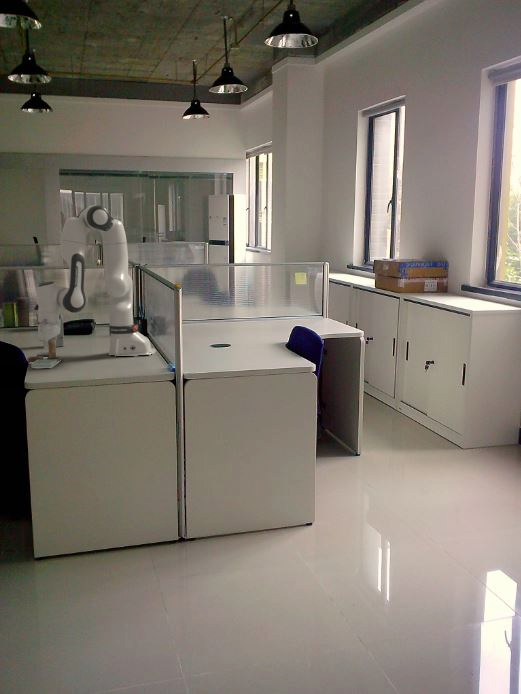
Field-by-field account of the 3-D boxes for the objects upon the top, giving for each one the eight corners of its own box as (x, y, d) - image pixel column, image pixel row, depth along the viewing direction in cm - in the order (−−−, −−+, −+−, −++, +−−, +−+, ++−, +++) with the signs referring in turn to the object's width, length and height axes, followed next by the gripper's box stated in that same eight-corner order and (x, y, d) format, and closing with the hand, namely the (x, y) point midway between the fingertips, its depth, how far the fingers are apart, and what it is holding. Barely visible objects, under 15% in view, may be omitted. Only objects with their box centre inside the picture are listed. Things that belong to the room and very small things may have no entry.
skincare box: (47, 347, 345) (44, 317, 342) (48, 345, 352) (45, 315, 349) (64, 346, 348) (62, 316, 344) (64, 344, 354) (62, 314, 351)
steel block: (52, 357, 324) (52, 352, 323) (50, 359, 319) (49, 354, 319) (40, 357, 324) (39, 352, 323) (37, 359, 319) (36, 354, 318)
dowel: (57, 362, 312) (55, 340, 310) (55, 363, 309) (53, 342, 307) (51, 362, 312) (49, 340, 310) (48, 363, 309) (47, 342, 307)
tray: (57, 364, 306) (57, 359, 305) (51, 368, 298) (51, 363, 297) (37, 365, 306) (37, 359, 306) (31, 369, 298) (31, 363, 298)
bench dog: (43, 362, 311) (43, 356, 310) (41, 364, 308) (41, 357, 307) (30, 362, 311) (30, 356, 311) (28, 364, 308) (28, 357, 308)
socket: (61, 361, 313) (61, 357, 313) (57, 364, 307) (57, 359, 307) (48, 361, 313) (48, 357, 313) (44, 364, 307) (44, 360, 307)
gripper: (47, 321, 296) (49, 352, 298) (62, 314, 316) (64, 343, 319) (33, 321, 296) (35, 352, 299) (49, 314, 316) (50, 343, 319)
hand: (50, 347), depth 309 cm, fingers open, 8 cm apart
